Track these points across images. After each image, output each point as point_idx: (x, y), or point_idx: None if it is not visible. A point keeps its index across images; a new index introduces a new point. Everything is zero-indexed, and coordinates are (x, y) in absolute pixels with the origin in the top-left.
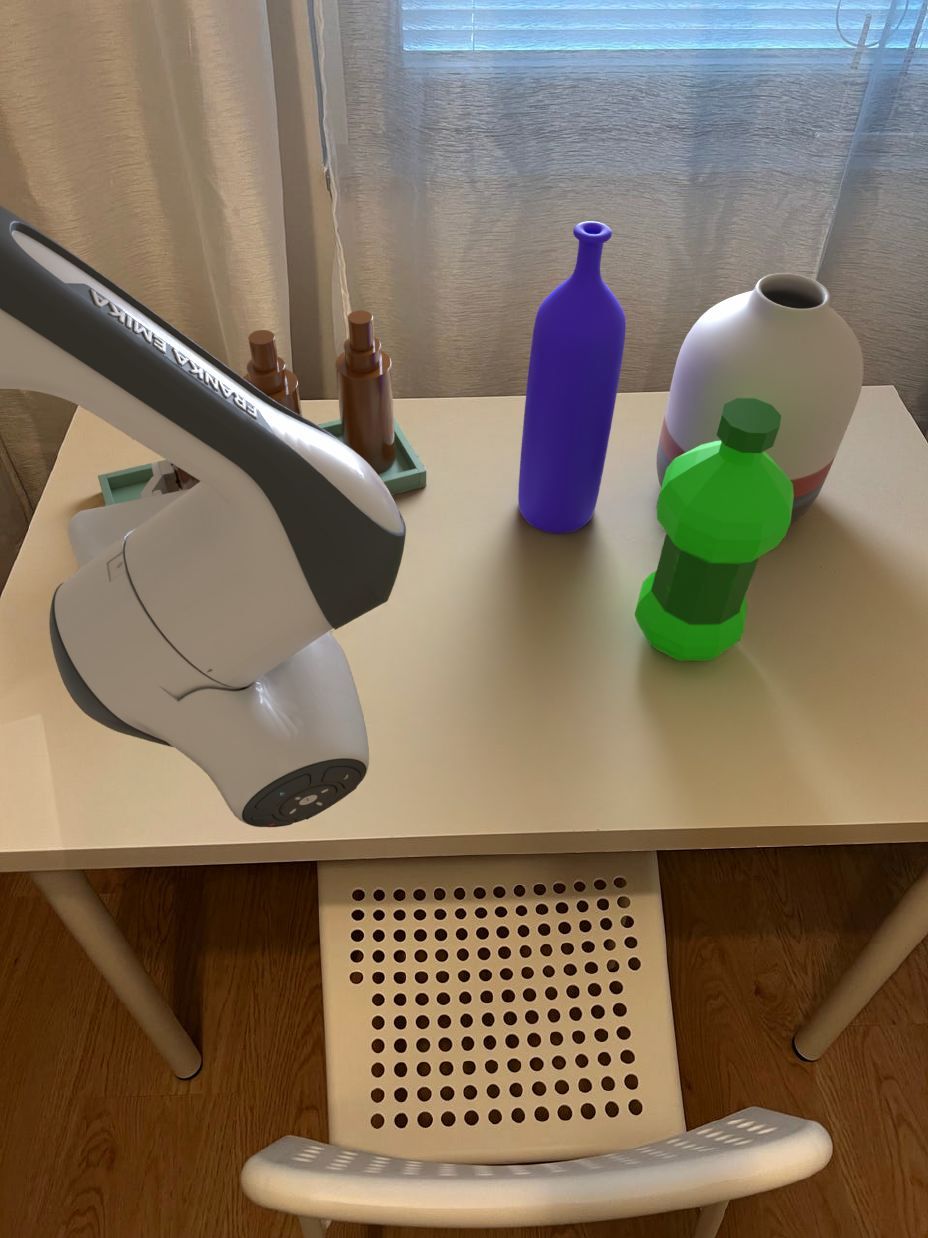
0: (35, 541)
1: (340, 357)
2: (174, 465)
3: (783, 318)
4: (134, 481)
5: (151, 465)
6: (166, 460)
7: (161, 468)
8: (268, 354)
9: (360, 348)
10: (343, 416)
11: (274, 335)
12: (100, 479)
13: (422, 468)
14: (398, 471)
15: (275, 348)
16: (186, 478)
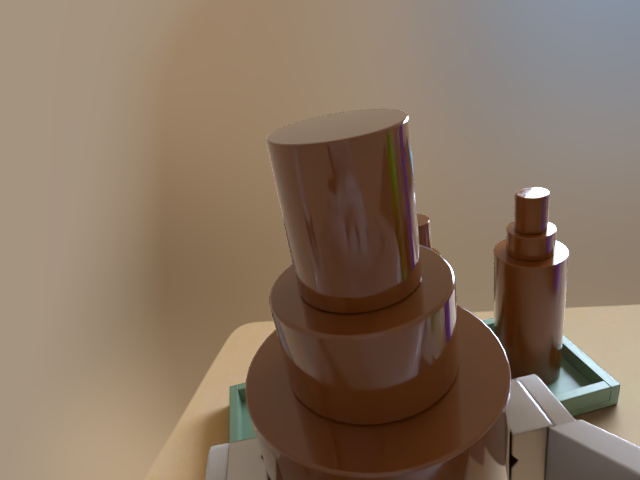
0: (152, 467)
1: (498, 247)
2: (267, 471)
3: None
4: None
5: (208, 456)
6: (253, 438)
7: (232, 471)
8: (422, 240)
9: (533, 230)
10: (503, 316)
11: (428, 218)
12: (231, 391)
13: (612, 380)
14: (571, 382)
15: (430, 233)
16: None
